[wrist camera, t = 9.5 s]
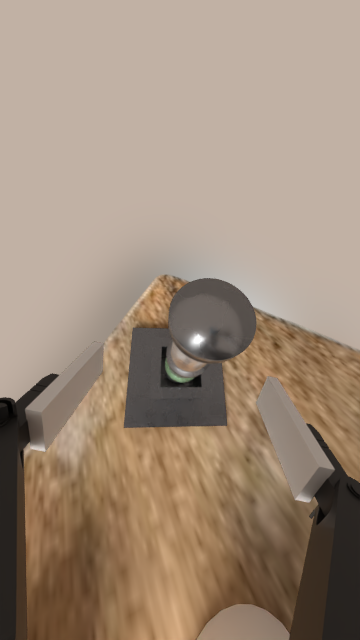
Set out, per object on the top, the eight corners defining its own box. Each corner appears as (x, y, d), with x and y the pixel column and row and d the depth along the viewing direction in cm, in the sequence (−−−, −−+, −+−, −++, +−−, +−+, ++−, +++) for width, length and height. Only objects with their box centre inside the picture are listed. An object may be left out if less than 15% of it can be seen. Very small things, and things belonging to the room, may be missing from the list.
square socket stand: (216, 332, 42) (235, 310, 32) (224, 424, 36) (250, 435, 25) (133, 330, 41) (124, 306, 30) (125, 426, 34) (109, 438, 24)
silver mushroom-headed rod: (194, 353, 33) (249, 280, 13) (195, 385, 31) (263, 360, 11) (163, 353, 33) (169, 276, 12) (163, 385, 31) (168, 359, 10)
